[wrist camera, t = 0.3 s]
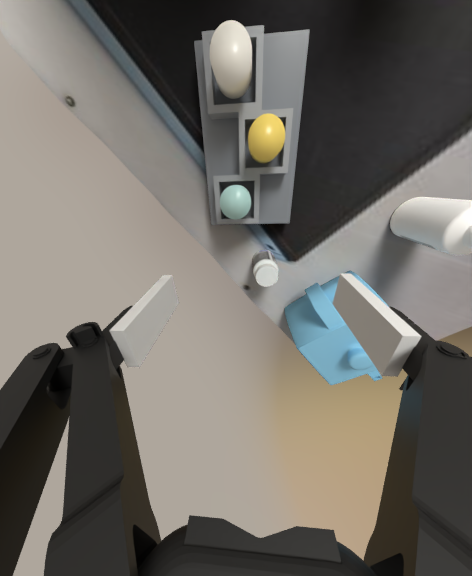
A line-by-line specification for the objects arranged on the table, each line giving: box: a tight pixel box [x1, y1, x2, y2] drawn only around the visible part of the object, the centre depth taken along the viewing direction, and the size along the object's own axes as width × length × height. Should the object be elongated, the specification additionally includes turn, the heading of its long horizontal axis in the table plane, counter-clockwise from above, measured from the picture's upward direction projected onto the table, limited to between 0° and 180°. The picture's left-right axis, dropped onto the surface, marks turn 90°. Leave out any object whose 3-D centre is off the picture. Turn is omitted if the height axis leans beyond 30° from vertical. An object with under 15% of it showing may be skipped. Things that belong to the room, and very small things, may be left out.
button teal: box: [220, 185, 251, 219], centre depth 28 cm, size 4×4×4 cm
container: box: [285, 271, 389, 385], centre depth 38 cm, size 17×25×15 cm
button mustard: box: [248, 113, 285, 163], centre depth 24 cm, size 4×4×4 cm
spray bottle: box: [390, 197, 472, 255], centre depth 26 cm, size 7×7×18 cm
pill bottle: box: [253, 250, 279, 287], centre depth 36 cm, size 5×5×8 cm
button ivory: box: [210, 20, 252, 99], centre depth 21 cm, size 4×4×4 cm
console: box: [194, 25, 310, 225], centre depth 28 cm, size 22×14×6 cm, turn 2°
